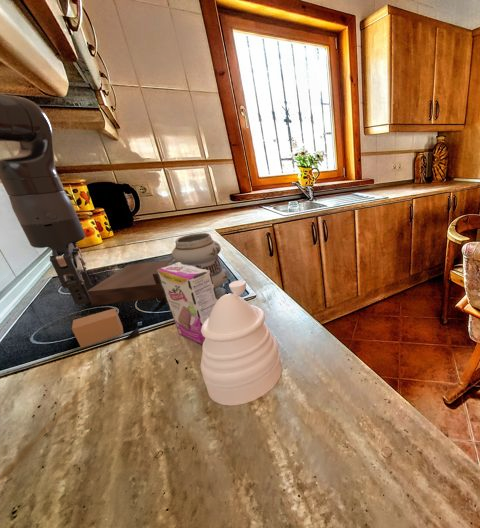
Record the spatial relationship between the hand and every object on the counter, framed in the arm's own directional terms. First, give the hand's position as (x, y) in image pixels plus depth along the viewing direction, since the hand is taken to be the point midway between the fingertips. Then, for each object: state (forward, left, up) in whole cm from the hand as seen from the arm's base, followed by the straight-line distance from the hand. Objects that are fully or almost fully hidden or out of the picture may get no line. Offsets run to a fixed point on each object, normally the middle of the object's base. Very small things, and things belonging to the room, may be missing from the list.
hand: (85, 295), depth 57 cm
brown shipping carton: (+1, +1, -12) cm, 12 cm away
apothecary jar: (+17, +18, -12) cm, 27 cm away
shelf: (-3, +27, -12) cm, 29 cm away
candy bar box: (+21, -2, -12) cm, 24 cm away
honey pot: (+33, -17, -12) cm, 39 cm away
